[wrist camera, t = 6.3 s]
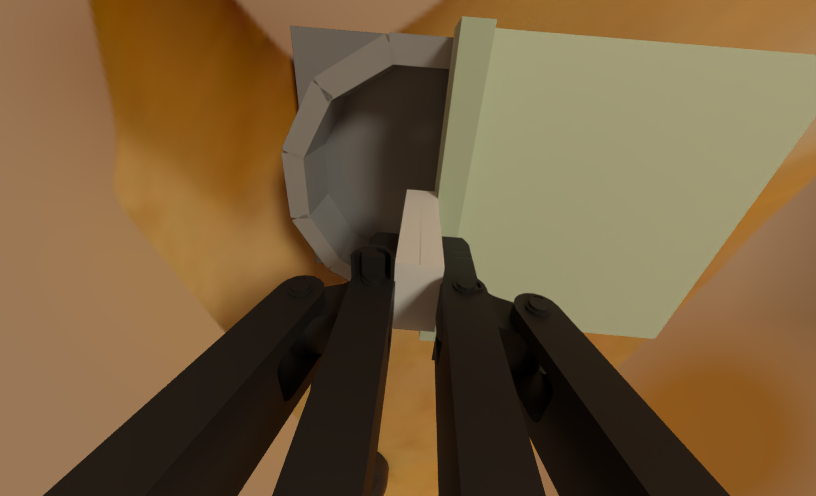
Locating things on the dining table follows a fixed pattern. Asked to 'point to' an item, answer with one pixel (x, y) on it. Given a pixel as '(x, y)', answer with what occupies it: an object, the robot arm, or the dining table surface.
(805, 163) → the dining table surface
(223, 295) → the dining table surface
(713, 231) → the pale green square board
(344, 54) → the holder
